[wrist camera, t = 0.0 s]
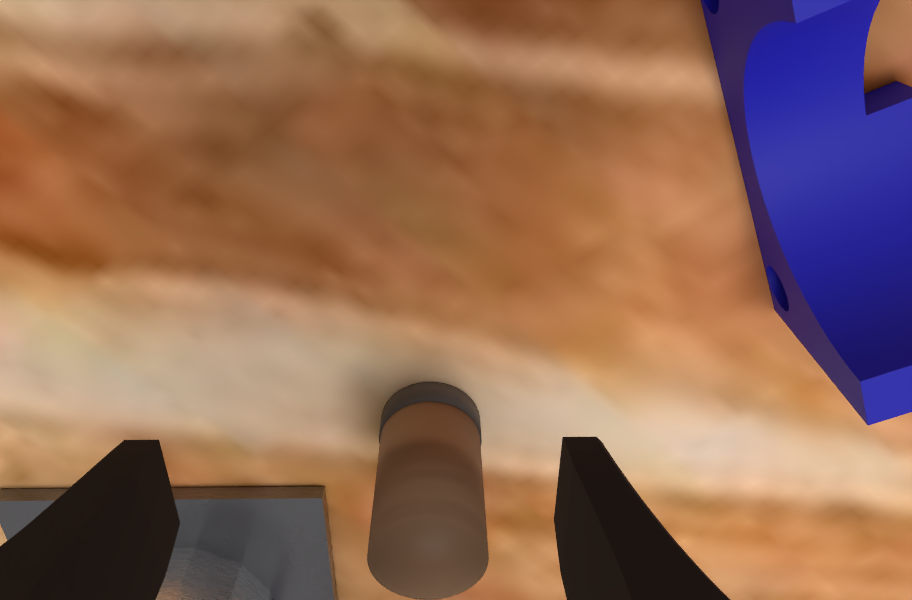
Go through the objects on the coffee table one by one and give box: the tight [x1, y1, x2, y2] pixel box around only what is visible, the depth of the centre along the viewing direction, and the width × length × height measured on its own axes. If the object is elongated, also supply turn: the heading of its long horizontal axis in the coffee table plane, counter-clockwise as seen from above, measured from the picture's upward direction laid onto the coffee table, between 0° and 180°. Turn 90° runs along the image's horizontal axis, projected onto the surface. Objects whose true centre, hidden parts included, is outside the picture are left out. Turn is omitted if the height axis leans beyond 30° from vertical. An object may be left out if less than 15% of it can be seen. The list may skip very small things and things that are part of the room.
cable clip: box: [701, 0, 912, 425], centre depth 17 cm, size 12×4×6 cm, turn 23°
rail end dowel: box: [367, 382, 489, 600], centre depth 22 cm, size 4×4×6 cm
